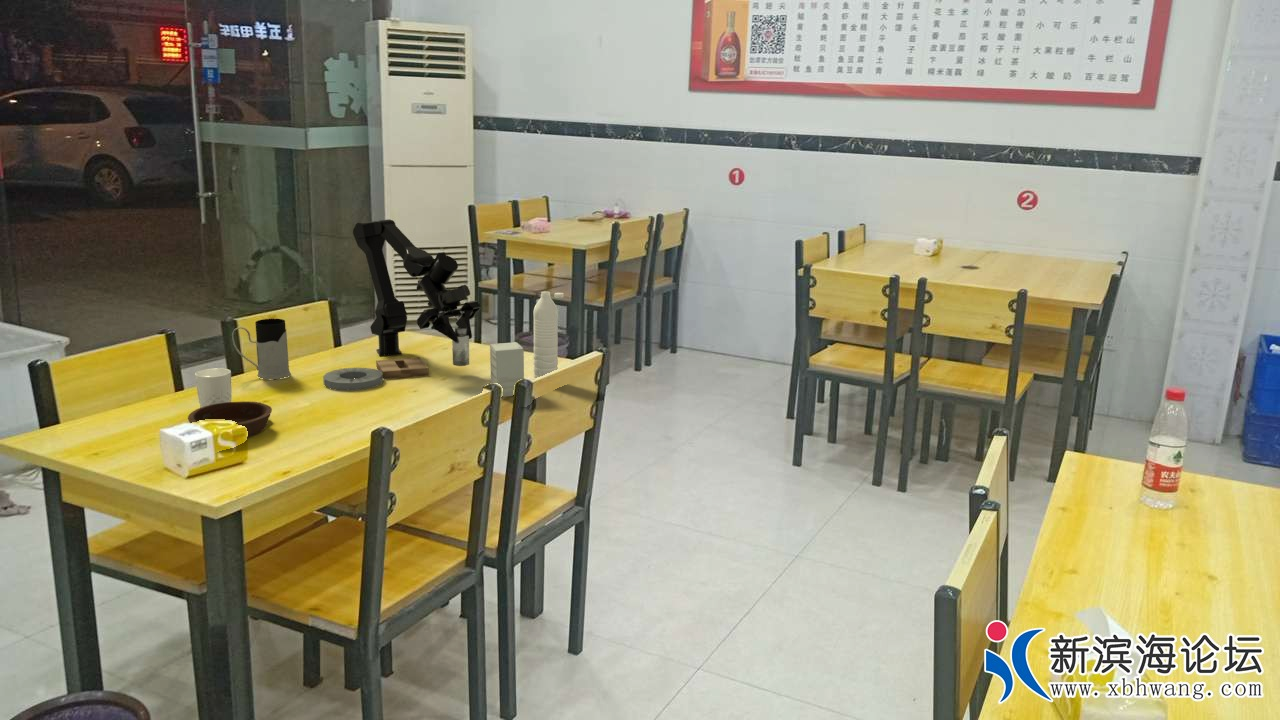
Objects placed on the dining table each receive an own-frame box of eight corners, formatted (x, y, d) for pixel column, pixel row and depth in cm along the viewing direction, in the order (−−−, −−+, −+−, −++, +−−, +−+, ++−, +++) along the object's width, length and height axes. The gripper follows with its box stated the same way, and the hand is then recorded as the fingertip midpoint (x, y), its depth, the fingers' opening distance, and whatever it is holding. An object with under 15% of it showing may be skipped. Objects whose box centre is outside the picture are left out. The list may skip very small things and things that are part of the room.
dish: (164, 442, 224) (162, 421, 223) (234, 414, 244) (233, 394, 243) (228, 453, 218) (226, 431, 217) (295, 423, 238) (294, 403, 237)
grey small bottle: (451, 362, 281) (450, 327, 279) (467, 361, 283) (466, 326, 280) (454, 366, 277) (454, 330, 275) (471, 365, 279) (470, 329, 276)
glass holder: (289, 379, 273) (286, 324, 269) (233, 381, 269) (228, 326, 265) (292, 370, 281) (288, 317, 277) (237, 373, 277) (233, 319, 274)
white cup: (217, 419, 239) (214, 378, 237) (191, 415, 242) (187, 374, 239) (241, 410, 246) (238, 370, 244) (215, 406, 249) (211, 366, 246)
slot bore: (376, 367, 286) (376, 360, 285) (419, 364, 290) (419, 357, 290) (383, 378, 275) (383, 371, 275) (427, 375, 280) (427, 368, 279)
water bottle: (528, 383, 274) (528, 292, 268) (542, 378, 279) (542, 288, 273) (555, 388, 270) (555, 295, 263) (569, 383, 275) (569, 292, 269)
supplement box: (517, 387, 270) (517, 341, 267) (524, 395, 263) (524, 348, 260) (490, 390, 267) (489, 343, 264) (496, 398, 261) (495, 350, 257)
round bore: (321, 377, 275) (320, 370, 274) (377, 372, 281) (377, 365, 280) (327, 392, 262) (326, 385, 261) (386, 387, 267) (386, 380, 267)
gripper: (422, 280, 269) (450, 328, 265) (476, 272, 283) (503, 317, 279) (404, 304, 276) (431, 351, 272) (458, 295, 290) (484, 340, 286)
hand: (464, 339), depth 277 cm, fingers closed on grey small bottle, 4 cm apart
